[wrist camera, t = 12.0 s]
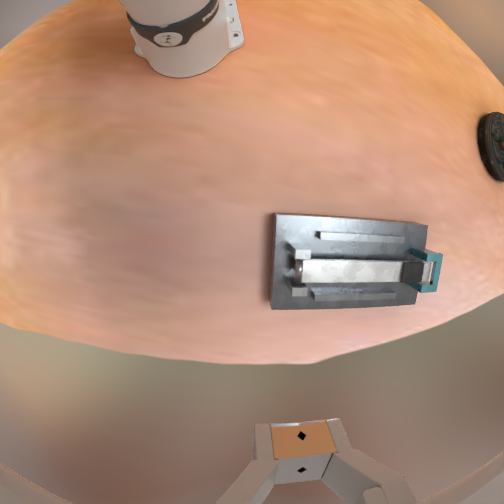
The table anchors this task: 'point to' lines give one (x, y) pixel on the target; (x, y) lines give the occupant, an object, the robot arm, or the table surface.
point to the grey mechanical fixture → (345, 248)
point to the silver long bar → (360, 271)
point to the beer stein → (492, 143)
